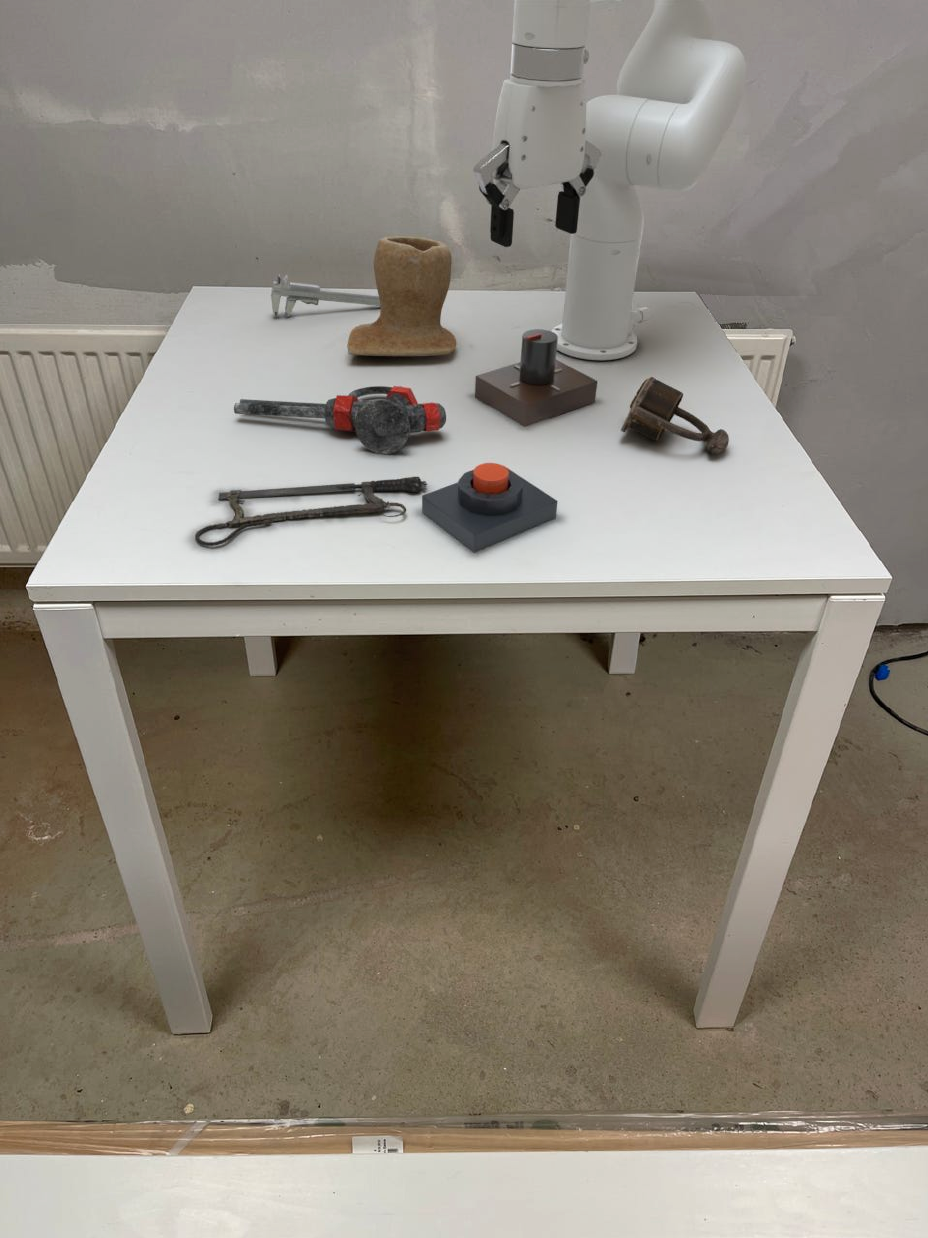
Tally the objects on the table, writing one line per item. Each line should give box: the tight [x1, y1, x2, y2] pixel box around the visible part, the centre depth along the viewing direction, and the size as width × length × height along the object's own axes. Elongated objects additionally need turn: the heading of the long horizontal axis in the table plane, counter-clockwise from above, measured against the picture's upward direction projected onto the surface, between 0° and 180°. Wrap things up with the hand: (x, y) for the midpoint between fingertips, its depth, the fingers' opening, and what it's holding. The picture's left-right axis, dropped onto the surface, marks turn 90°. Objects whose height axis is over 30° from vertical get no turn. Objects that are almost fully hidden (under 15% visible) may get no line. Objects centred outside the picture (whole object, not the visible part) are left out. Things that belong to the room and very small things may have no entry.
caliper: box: [270, 273, 380, 319], centre depth 136 cm, size 20×1×6 cm, turn 109°
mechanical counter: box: [620, 376, 730, 455], centre depth 106 cm, size 7×13×10 cm
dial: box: [519, 328, 558, 385], centre depth 112 cm, size 4×4×6 cm
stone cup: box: [346, 236, 458, 357], centre depth 123 cm, size 15×12×15 cm
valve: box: [233, 385, 447, 455], centre depth 109 cm, size 6×26×15 cm
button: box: [473, 462, 509, 494], centre depth 92 cm, size 4×4×2 cm
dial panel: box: [474, 359, 598, 427], centre depth 115 cm, size 12×10×3 cm
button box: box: [421, 465, 558, 554], centre depth 94 cm, size 11×9×4 cm
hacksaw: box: [194, 476, 428, 547], centre depth 94 cm, size 24×10×2 cm, turn 97°
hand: (534, 236), depth 104 cm, fingers open, 9 cm apart
